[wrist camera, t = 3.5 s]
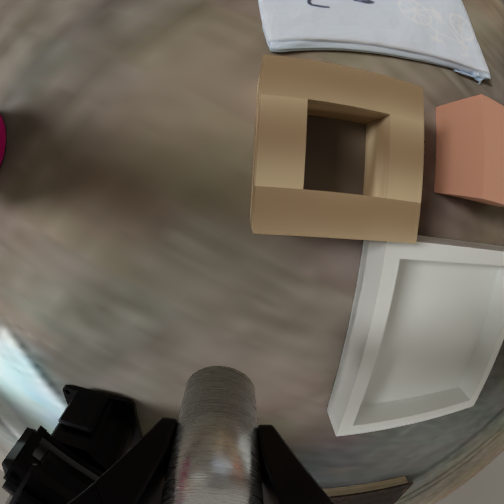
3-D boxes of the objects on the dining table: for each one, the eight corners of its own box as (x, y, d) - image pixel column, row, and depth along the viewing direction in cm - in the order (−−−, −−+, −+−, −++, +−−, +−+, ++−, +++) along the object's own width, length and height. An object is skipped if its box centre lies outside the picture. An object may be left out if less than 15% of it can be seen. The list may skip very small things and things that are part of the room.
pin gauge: (252, 417, 10) (265, 608, 2) (187, 413, 10) (156, 600, 2) (257, 367, 9) (281, 600, 2) (184, 363, 9) (131, 587, 2)
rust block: (486, 204, 17) (532, 213, 12) (432, 192, 17) (482, 198, 12) (489, 129, 16) (533, 125, 11) (435, 107, 16) (481, 94, 11)
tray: (457, 388, 21) (473, 405, 18) (326, 410, 20) (336, 436, 17) (503, 246, 18) (527, 254, 15) (365, 229, 17) (387, 238, 14)
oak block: (378, 228, 17) (415, 243, 13) (249, 220, 17) (252, 233, 13) (384, 104, 16) (422, 87, 11) (257, 85, 15) (263, 54, 11)
